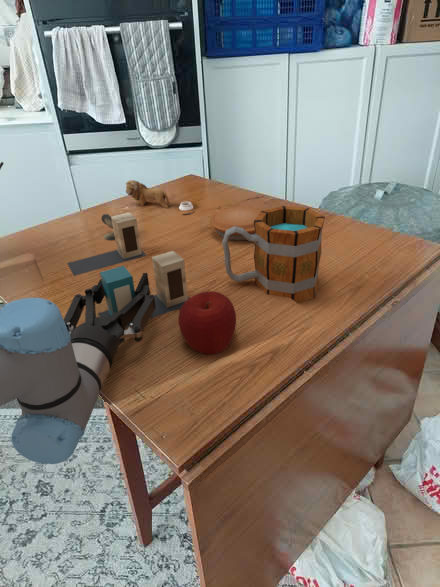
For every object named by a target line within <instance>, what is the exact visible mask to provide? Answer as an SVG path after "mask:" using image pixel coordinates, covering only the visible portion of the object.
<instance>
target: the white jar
mask: <svg viewBox="0 0 440 587" xmlns="http://www.w3.org/2000/svg"><path fill="white" fill-rule="evenodd" d="M178 209H179V210H180V211H190V210H192V209H194V205H193V204H192V202H191V201H186V200H185V201H182V202H180V205H179V207H178ZM195 212H196V211H190V212H186V213H182V214H181V216H191V215H192V214H194V213H195Z"/></svg>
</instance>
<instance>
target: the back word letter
mask: <svg viewBox="0 0 440 587" xmlns="http://www.w3.org/2000/svg"><path fill="white" fill-rule="evenodd" d="M110 217H111V219H112V225H113V229H112V230H113V232H114V235H115V239H114V241H115V245H116V250H117V251H118V253H119V254H120V255H121V256H122V258H123V259H126V258H130V257H133V256H137V255H141V254H142V251H143V250H142V246H141V239H140V232H139V227H138V221H137V218H136V216H134V214H132V213H131V212H129V211H128V212H125V213H120V214H116V215H111V216H110ZM141 250H142V251H141Z"/></svg>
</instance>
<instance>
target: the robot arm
mask: <svg viewBox="0 0 440 587" xmlns="http://www.w3.org/2000/svg"><path fill="white" fill-rule="evenodd" d="M3 165H4V162H3V161H1V162H0V170H1V169H2V168H3ZM139 279H140V280H139V281H138V284H137V286H136V288H135V295H136V296H135V297H134V298H133V299H132V300H131V301H130V302H129V303H128V304H127V305H126V306H124V307H123V308H122V309H121V310H120V311H119V312H115V313H113V314H112V315H111V316H110V317H107V318H101V317H100V316H97V309H96V305H101V304H102V302H103V300H104V298H105V294H104V289H103V285H102V280H101V278H100V279H99V281H98V282H97V284H94V285H92V286H91V288H86V289H85V290H84V295H82V294H79V293H77V294H75V295H74V297H73V298H72V301H71V303H70V305H69V307H68V309H67V311H66V313H65V315H64V317H63V315H62V312H61V310H60V308H59V306H58V305H57V304H55V303H54V301H51V300H49V299H46V298H43V297H24V298H19V299H15V300H12V301H10V302H7V303H6V304H4V305H3V306H2V308H0V407H2V406H5V405H7V404H8V403H10V402H12V401H15V400H16V401H17V403H18V405H19V408H20V410H21V415H20V416H19V418H18V419H17V420H16V421H15V426H14V428H13V429H12V433H11V439H10V440H11V444H12V446H13V448H14V449H15V451H16V452H17V453H18V454H19V455H21V456H22V457H24V458H25V459H27V460H29V461H31V462H34V463H37V464H41V465H45V464H47V465H56V464H61V463H64V462H65V461H68V459H69V458H71V457H72V455H73V454H74V453H75V450H76V448H77V446H78V444H79V442H80V440H81V439H82V438H83V437H84V435H85V432H86V428H87V426H88V423H89V421H90V418H91V416H92V414H93V412H94V408H95V407H96V406H95V405H96V403H97V400H98V398H99V395H100V393H101V391H102V390H103V387H104V384H105V382H106V380H107V378H108V375H109V372H110V370H111V369H112V366H113V364H114V361H115V360H116V356H117V354H118V352H119V347H120V346H121V345H122V344H123V343H124V342H125V341H126V340H127V339H134V341H135V342H141V341H143V339H144V337H143V333H144V331H145V329H146V327H147V325H148V323H149V321H150V318H151V316H152V314H153V312H154V310H155V309H156V305H155V298H154V295H155V294H151V289H150V281H149V274H148V272H143V273H142V275H141V277H140V278H139ZM84 309H85V313H84V314H85V317H84V318H85V320H84V322H83V323H81V324H79V321H80V318H81V316H82V313H83V312H84ZM133 319H134V320H133ZM151 319H152V318H151ZM132 320H133V323H130V322H131V321H132ZM129 323H130V326H127V325H128V324H129ZM78 324H79V325H78ZM126 326H127V327H126Z"/></svg>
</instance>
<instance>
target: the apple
mask: <svg viewBox="0 0 440 587" xmlns="http://www.w3.org/2000/svg"><path fill="white" fill-rule="evenodd" d="M177 318H178V319H177V320H178V328H179V331H180V333H181V335H182V337H183V339H184V341H185V342H186V344H187V345H188V346H189V347H190V348H191V349H192V350H193V351H195V352H198V353H200V354H204V355H215V354H216V355H217V354H219V353H222V352H224V351H225V350H227V348H228V347H229V346H230V344H231V343H232V341H233V338H234V335H235V331H236V326H237V314H236V310H235V306H234V304H233V303H232V301H231V299H230V298H228V297H227V296H226V295H225V294H223V293H221V292H218V291H202V292H198V293H196V294H194V295H193V296H191V297H189V299H188V300H186V302H185V303H184V304H183V305H182V307H181V308H180V309H179V311H178V317H177Z"/></svg>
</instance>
